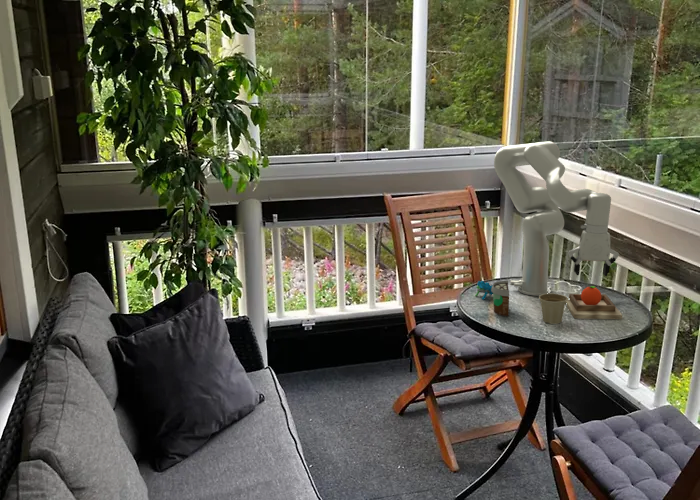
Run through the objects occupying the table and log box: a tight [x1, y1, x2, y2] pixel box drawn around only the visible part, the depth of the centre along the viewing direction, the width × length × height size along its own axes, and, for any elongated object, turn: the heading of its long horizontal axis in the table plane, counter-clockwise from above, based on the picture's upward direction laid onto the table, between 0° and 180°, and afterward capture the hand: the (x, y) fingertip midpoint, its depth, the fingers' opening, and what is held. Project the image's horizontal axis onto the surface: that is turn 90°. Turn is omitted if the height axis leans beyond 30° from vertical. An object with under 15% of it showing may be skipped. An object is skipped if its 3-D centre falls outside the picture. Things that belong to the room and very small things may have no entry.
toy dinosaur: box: [474, 280, 493, 301], centre depth 240 cm, size 11×6×10 cm
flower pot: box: [538, 292, 568, 325], centre depth 214 cm, size 9×9×9 cm
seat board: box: [566, 293, 623, 320], centre depth 225 cm, size 16×20×4 cm
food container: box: [491, 280, 510, 317], centre depth 225 cm, size 12×6×10 cm, turn 168°
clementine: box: [580, 285, 602, 305], centre depth 225 cm, size 8×7×7 cm
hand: (590, 274), depth 223 cm, fingers open, 9 cm apart
